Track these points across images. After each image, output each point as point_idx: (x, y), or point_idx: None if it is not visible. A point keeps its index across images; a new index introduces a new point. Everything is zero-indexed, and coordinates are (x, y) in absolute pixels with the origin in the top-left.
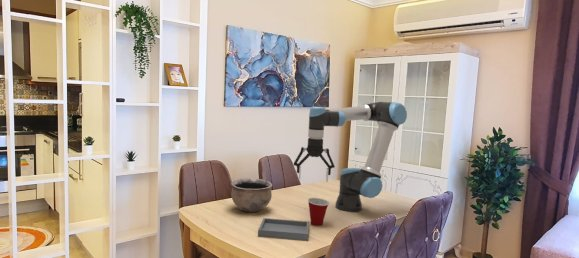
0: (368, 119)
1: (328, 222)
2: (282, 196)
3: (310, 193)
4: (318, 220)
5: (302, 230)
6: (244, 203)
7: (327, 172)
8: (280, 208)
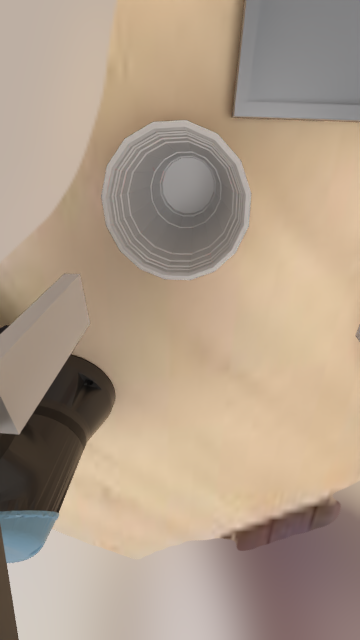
0: None
1: None
2: (293, 459)
3: (196, 484)
4: (179, 152)
5: (280, 4)
6: None
7: (13, 333)
8: (327, 355)
